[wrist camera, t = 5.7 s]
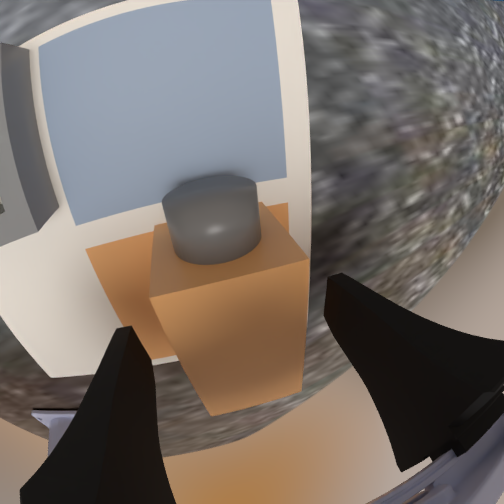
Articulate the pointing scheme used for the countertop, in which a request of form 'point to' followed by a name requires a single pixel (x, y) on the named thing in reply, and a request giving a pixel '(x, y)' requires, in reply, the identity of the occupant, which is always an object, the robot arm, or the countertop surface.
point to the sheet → (149, 157)
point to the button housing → (21, 152)
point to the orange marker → (230, 293)
